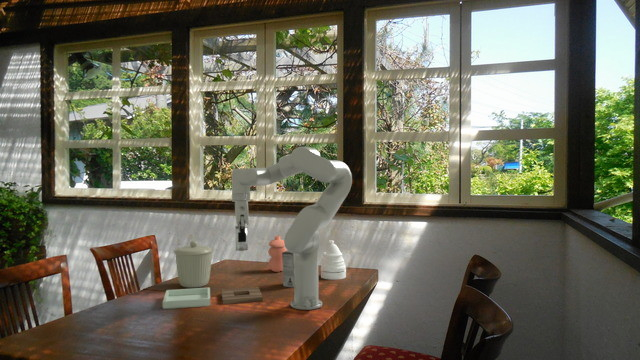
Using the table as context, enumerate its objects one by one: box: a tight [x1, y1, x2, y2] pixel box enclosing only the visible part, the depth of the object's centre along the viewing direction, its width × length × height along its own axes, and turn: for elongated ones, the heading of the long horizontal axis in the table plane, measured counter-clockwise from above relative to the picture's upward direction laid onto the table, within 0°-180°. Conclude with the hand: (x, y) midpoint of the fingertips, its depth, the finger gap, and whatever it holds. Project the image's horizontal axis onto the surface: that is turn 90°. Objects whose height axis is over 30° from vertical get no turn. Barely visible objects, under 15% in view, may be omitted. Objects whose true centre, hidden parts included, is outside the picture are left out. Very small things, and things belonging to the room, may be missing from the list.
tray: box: [162, 287, 211, 310], centre depth 188 cm, size 18×18×3 cm
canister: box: [173, 240, 215, 289], centre depth 215 cm, size 18×18×21 cm
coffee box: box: [282, 250, 295, 289], centre depth 215 cm, size 9×6×16 cm
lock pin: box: [234, 225, 249, 252], centre depth 193 cm, size 5×5×10 cm
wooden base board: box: [221, 286, 264, 305], centre depth 194 cm, size 16×16×2 cm
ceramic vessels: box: [267, 235, 320, 282], centre depth 236 cm, size 35×21×19 cm, turn 38°
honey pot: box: [320, 239, 347, 281], centre depth 232 cm, size 13×13×18 cm
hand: (241, 240), depth 193 cm, fingers closed on lock pin, 5 cm apart
